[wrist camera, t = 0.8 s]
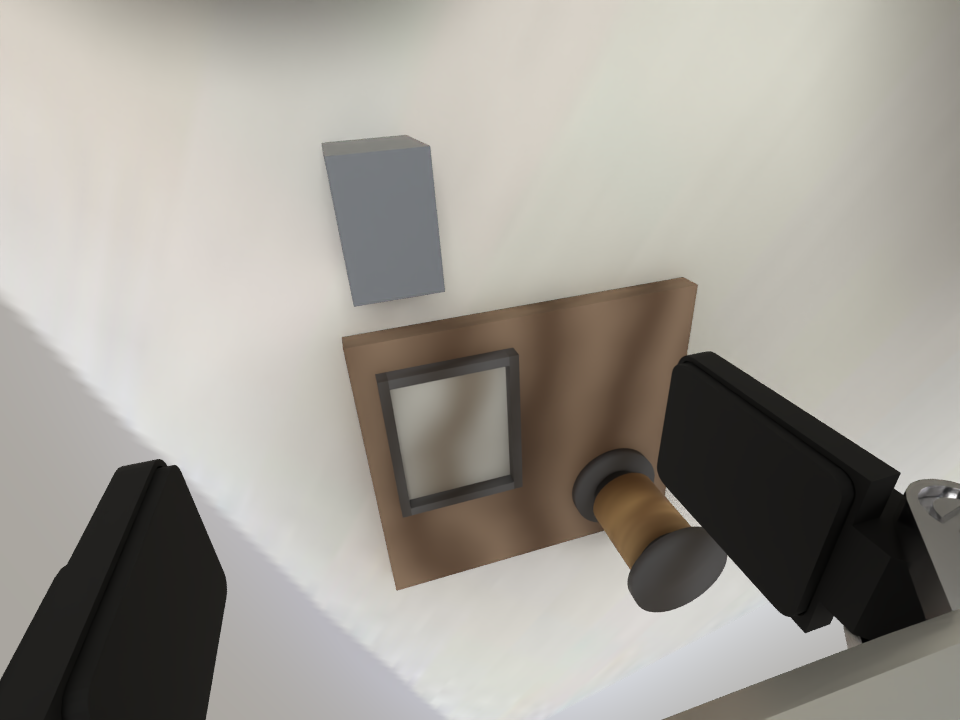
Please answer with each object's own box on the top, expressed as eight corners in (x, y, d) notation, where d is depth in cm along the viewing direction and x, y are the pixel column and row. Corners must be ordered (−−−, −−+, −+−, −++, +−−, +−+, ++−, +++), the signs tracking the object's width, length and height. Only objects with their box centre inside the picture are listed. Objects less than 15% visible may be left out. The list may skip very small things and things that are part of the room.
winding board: (682, 277, 33) (812, 342, 24) (651, 501, 43) (735, 603, 34) (341, 337, 28) (353, 444, 20) (393, 573, 38) (417, 714, 29)
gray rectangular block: (405, 134, 24) (430, 145, 19) (420, 254, 27) (444, 291, 22) (321, 142, 24) (323, 156, 19) (346, 265, 27) (353, 306, 21)
